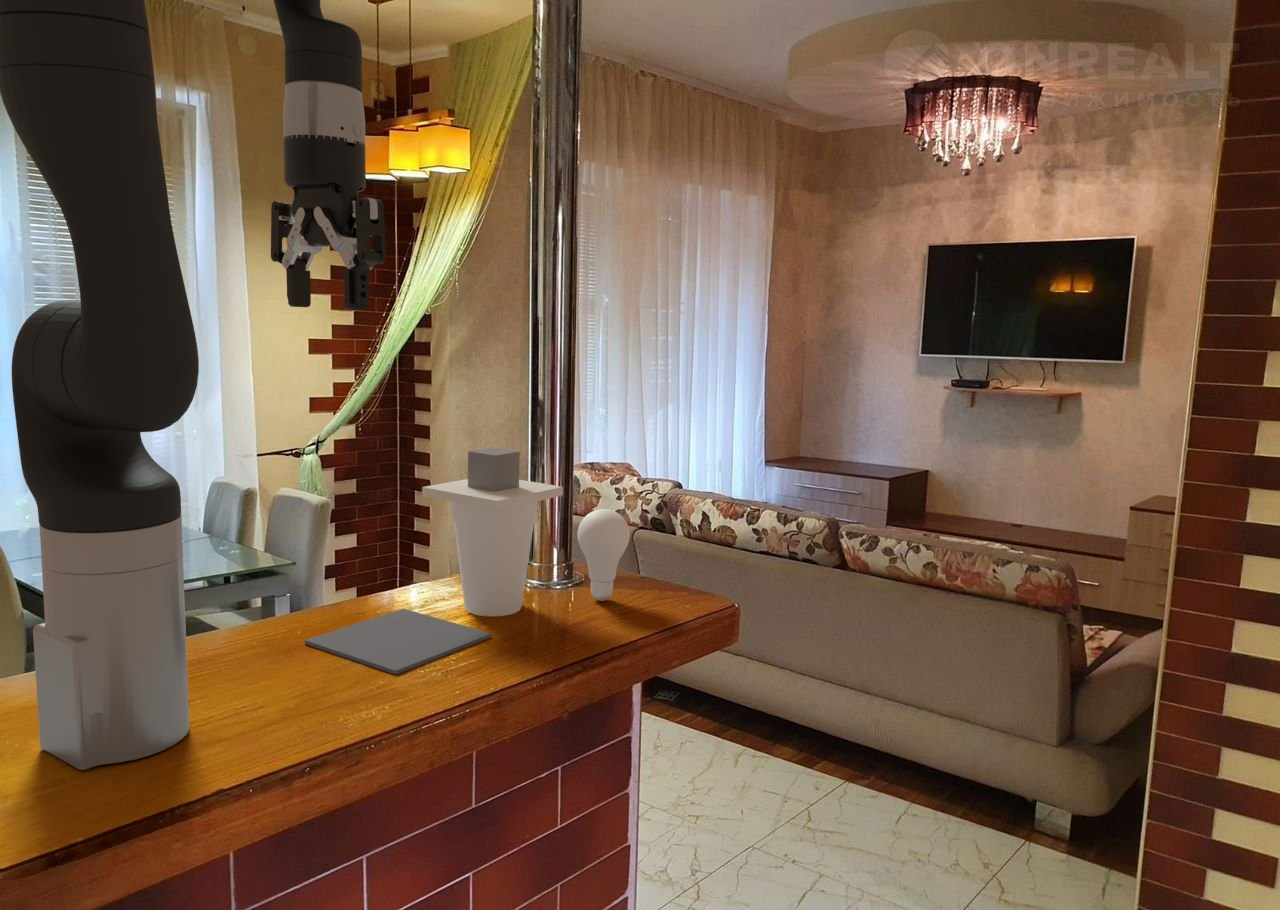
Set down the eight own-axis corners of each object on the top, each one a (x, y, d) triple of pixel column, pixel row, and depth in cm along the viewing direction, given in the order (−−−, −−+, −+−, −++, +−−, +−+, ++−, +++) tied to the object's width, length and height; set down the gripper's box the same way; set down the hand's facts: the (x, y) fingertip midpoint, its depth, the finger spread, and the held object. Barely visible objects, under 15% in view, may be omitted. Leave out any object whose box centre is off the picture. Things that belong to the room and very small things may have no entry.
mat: (395, 674, 87) (395, 670, 87) (304, 643, 94) (304, 640, 94) (491, 637, 97) (491, 633, 97) (403, 612, 104) (403, 608, 104)
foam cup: (528, 622, 102) (530, 505, 100) (443, 619, 103) (443, 502, 101) (539, 596, 112) (541, 489, 110) (461, 593, 112) (462, 486, 110)
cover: (497, 510, 98) (497, 462, 97) (422, 496, 104) (422, 451, 103) (562, 495, 107) (563, 451, 106) (490, 483, 113) (490, 441, 112)
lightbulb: (566, 602, 110) (568, 510, 108) (591, 590, 115) (594, 502, 114) (612, 611, 107) (615, 517, 106) (636, 598, 113) (639, 508, 111)
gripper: (245, 137, 92) (249, 305, 94) (342, 125, 84) (344, 309, 86) (309, 149, 98) (312, 307, 100) (405, 140, 90) (406, 311, 93)
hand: (327, 308), depth 93 cm, fingers open, 8 cm apart
